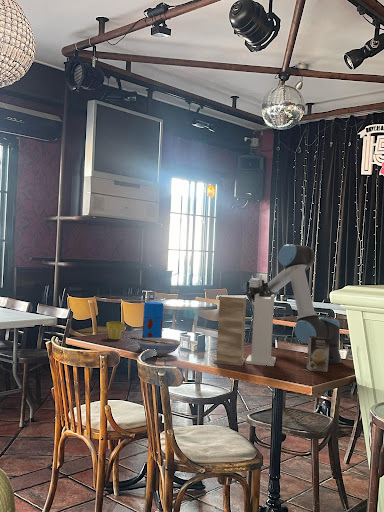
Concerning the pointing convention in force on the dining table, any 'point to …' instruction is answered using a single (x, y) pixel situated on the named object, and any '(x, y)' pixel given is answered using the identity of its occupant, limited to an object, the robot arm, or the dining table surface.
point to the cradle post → (262, 332)
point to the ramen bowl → (158, 345)
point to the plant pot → (115, 329)
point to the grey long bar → (254, 282)
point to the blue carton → (152, 320)
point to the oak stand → (231, 330)
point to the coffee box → (318, 354)
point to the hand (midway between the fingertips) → (256, 277)
